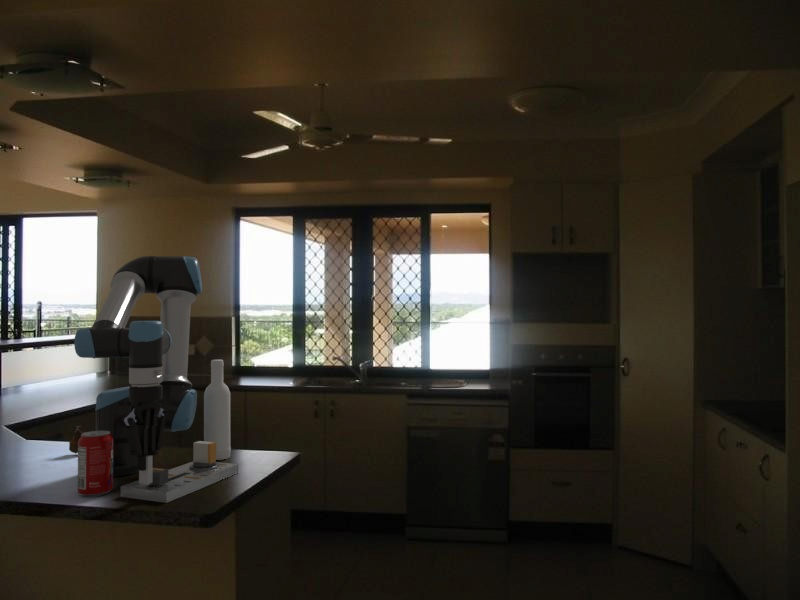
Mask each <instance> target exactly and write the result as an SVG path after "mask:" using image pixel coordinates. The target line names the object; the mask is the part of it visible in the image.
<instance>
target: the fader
mask: <svg viewBox="0 0 800 600" xmlns="http://www.w3.org/2000/svg"><path fill="white" fill-rule="evenodd" d="M168 470H169V469H168V468H162V467H161V468H159V467H153V483H150V484H151V487H155V486H158V485H159V486H160V485H162V484H165V483H168Z"/></svg>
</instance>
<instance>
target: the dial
mask: <svg viewBox="0 0 800 600" xmlns="http://www.w3.org/2000/svg"><path fill="white" fill-rule="evenodd" d="M192 446H193V451H192V453H193V454H192V456H193V461H192V462H193V467H195V468H209V467H213V466H215V465H216V462H217V461H216V442H206V441H204V440H203V441H202V440H198V441H195V442H193V443H192Z"/></svg>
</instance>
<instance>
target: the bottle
mask: <svg viewBox="0 0 800 600" xmlns="http://www.w3.org/2000/svg"><path fill="white" fill-rule="evenodd" d="M224 366H225V363H224V360H223V359H212V360H211V361H210V368H211V369H210V384H208V386H207V387H205V390H204V394H203V441H206V442H216V460H218V461H223V460H224V459H225V460H228V459H229V458H231V453H232V451H231V450H232V447H231V391H230V389H229V386H228V385H227V384H226V383H225V382H224Z"/></svg>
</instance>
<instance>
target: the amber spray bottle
mask: <svg viewBox="0 0 800 600" xmlns="http://www.w3.org/2000/svg"><path fill="white" fill-rule="evenodd" d="M74 427H75V428H74V429H73V433H75V434H74V435H73V436H72V438H71V439H70V440H69V442H68V443H69V445H68V446H69V448H68V450H69V452H71V453H74V454H78V441H79V439H80V438H81V434H82V433H83V432H82V431H81V427H82V426H81V425H75V426H74Z"/></svg>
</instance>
